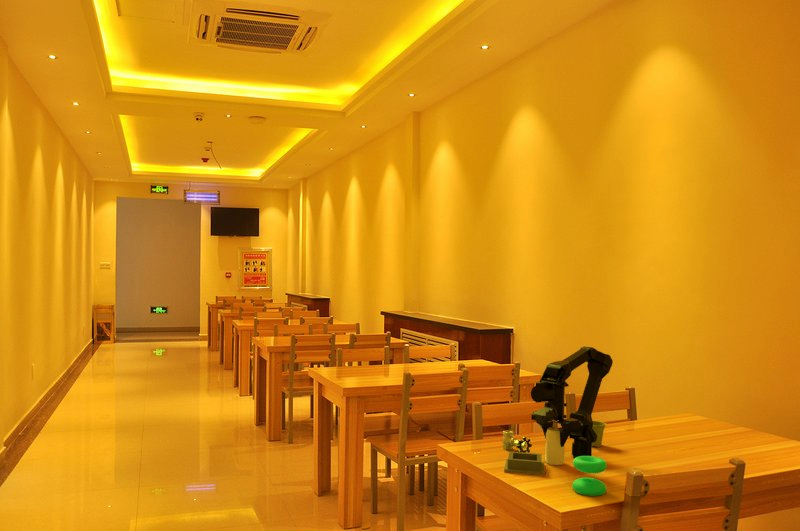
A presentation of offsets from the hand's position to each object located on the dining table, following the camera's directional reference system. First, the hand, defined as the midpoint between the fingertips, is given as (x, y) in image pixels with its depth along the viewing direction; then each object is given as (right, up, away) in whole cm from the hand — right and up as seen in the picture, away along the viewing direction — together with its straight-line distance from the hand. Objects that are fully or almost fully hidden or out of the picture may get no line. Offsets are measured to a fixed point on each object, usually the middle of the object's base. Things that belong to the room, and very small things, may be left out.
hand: (554, 444), depth 242 cm
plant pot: (+21, -8, +28) cm, 36 cm away
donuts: (+3, -7, -32) cm, 32 cm away
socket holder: (-12, -6, -8) cm, 16 cm away
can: (0, -7, 0) cm, 7 cm away
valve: (-12, -7, +15) cm, 20 cm away
